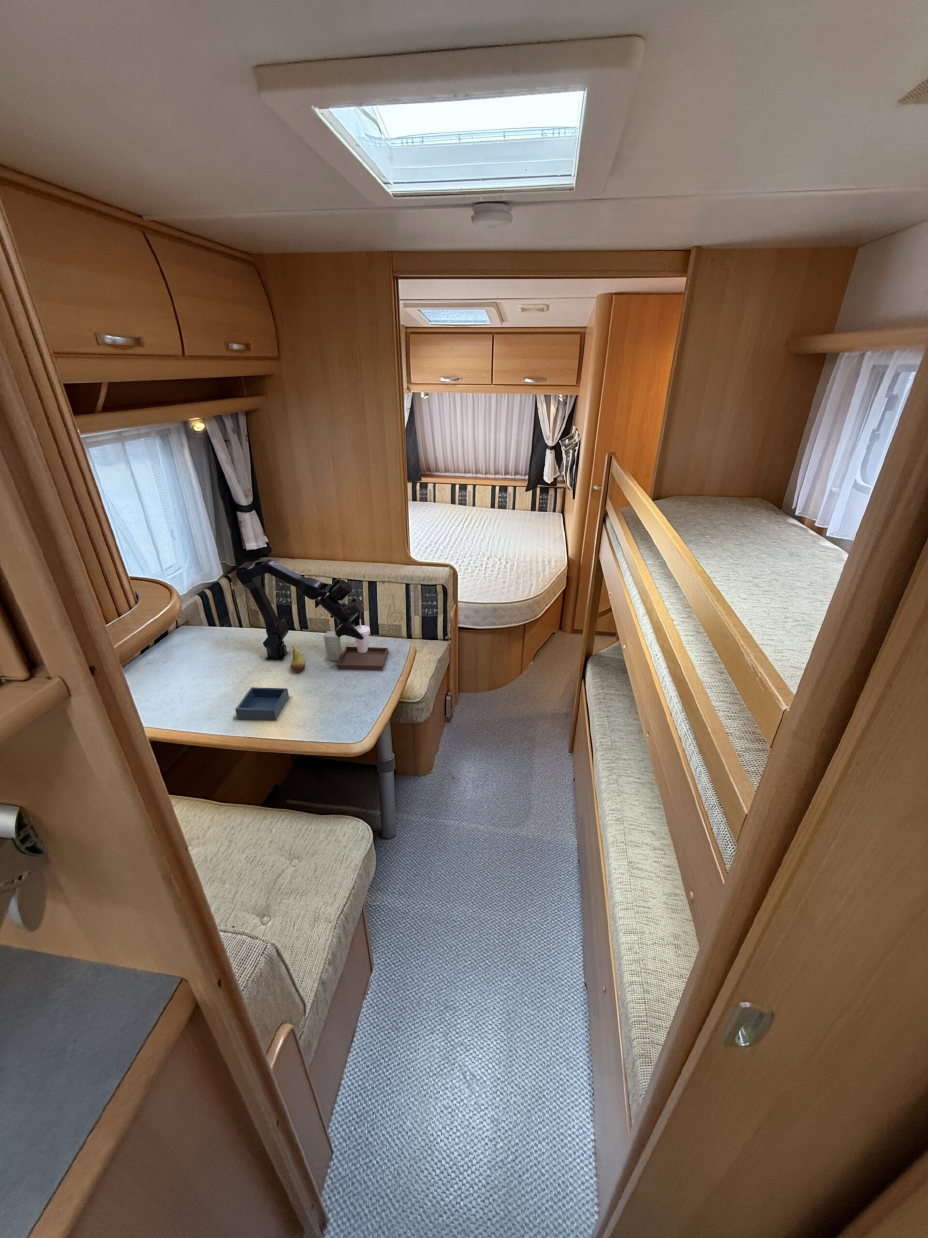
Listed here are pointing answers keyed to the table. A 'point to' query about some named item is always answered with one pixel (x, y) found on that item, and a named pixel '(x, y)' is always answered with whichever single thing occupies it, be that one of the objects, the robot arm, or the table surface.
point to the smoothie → (363, 644)
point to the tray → (363, 659)
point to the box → (332, 646)
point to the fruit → (297, 661)
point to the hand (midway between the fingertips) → (365, 635)
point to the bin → (262, 703)
